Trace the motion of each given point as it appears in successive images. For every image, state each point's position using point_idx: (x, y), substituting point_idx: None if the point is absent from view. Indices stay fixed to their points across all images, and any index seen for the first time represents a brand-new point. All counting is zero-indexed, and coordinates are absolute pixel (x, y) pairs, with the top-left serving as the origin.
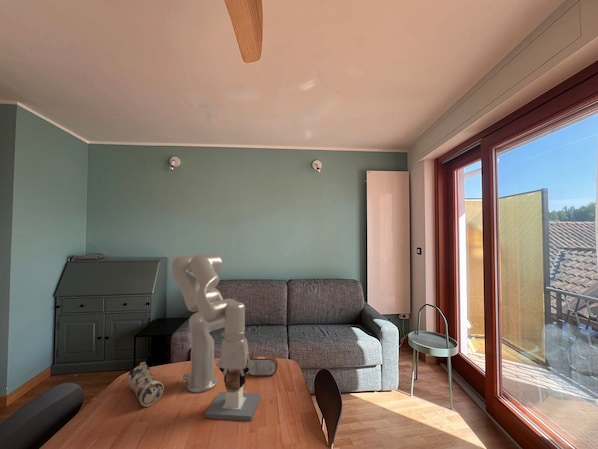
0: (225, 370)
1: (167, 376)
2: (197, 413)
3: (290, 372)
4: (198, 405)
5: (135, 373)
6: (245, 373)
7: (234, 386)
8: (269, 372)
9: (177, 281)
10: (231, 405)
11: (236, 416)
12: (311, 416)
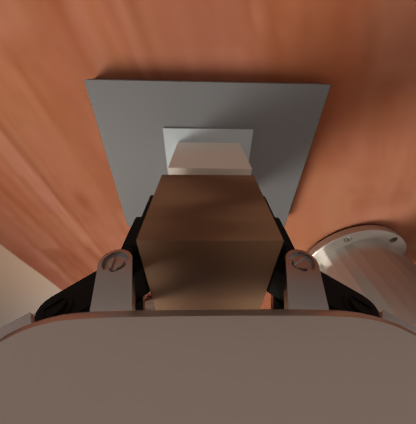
0: (305, 291)
1: None
2: (357, 112)
3: None
4: (355, 163)
5: None
6: (92, 274)
7: (191, 185)
8: (152, 305)
9: None
10: (211, 144)
11: (164, 81)
12: None
